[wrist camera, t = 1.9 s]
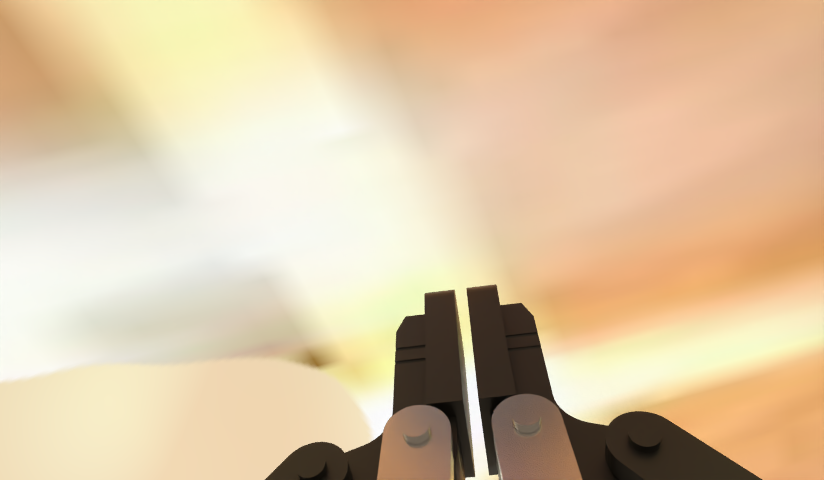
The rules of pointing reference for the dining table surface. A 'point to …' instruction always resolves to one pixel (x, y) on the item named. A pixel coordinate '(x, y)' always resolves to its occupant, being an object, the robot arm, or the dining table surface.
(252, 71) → the dining table surface
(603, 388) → the dining table surface
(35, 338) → the dining table surface
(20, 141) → the dining table surface
